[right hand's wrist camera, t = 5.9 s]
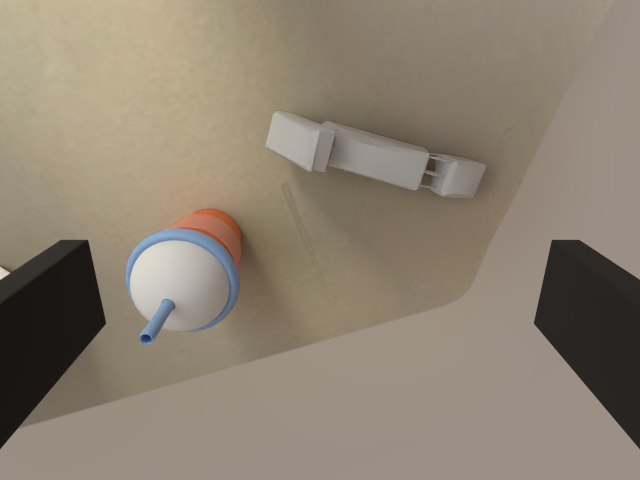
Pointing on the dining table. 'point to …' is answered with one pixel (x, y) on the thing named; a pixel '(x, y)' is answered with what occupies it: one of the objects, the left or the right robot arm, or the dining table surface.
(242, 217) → the dining table surface
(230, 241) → the cup with straw
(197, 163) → the dining table surface
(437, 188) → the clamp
